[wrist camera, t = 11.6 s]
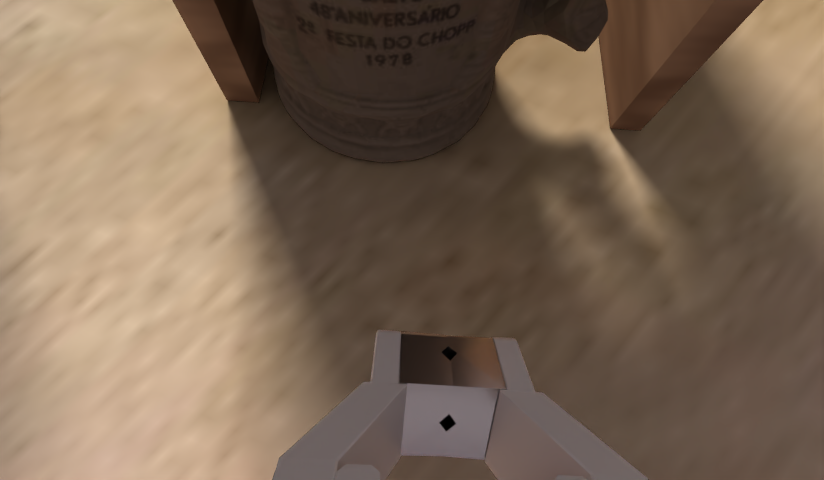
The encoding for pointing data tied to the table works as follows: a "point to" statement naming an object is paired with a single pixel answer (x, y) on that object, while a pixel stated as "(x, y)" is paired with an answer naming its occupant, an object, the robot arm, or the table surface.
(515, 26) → the beer stein
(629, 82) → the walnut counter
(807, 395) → the table surface
